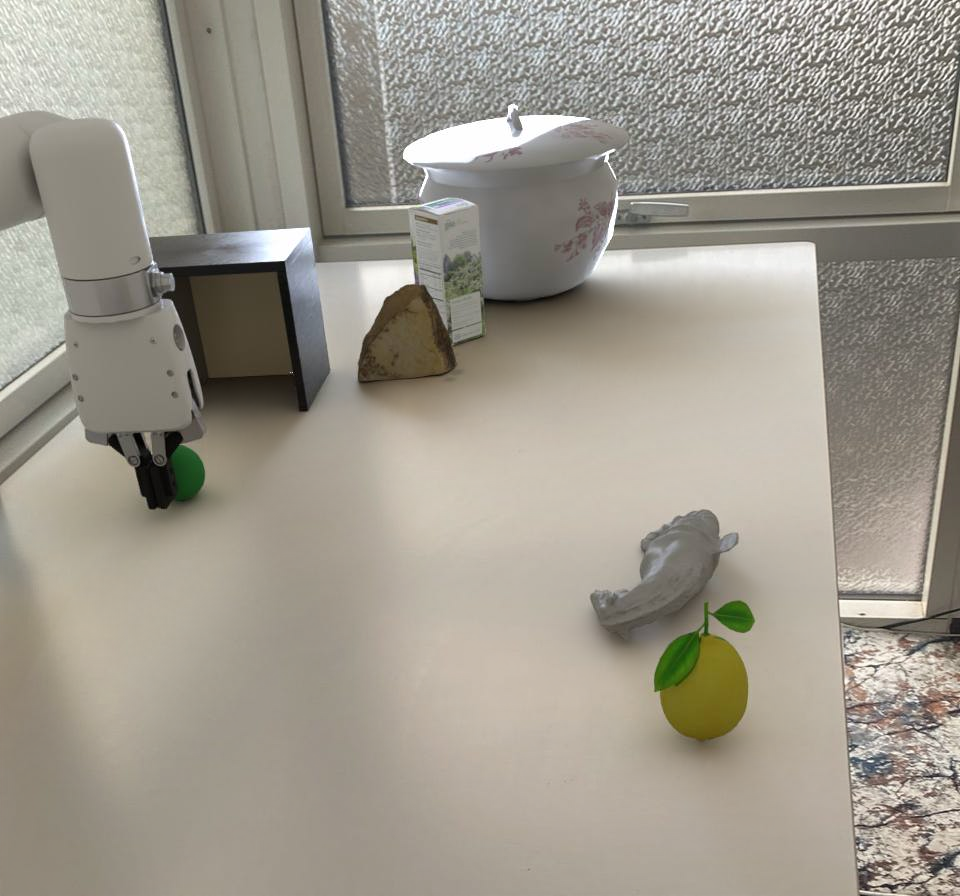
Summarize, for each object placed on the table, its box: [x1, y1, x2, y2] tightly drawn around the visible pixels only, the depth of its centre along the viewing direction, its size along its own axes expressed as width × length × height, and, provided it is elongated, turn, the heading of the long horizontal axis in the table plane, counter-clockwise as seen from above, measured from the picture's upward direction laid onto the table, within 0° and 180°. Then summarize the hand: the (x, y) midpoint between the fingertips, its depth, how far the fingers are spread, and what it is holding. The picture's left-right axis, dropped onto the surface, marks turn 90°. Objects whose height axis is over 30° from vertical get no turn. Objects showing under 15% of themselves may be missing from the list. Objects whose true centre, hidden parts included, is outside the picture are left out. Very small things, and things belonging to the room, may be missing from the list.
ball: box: [171, 444, 206, 501], centre depth 123 cm, size 5×5×5 cm
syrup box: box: [408, 198, 486, 347], centre depth 152 cm, size 6×6×14 cm
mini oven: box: [148, 227, 331, 412], centre depth 142 cm, size 18×14×15 cm
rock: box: [357, 283, 458, 382], centre depth 146 cm, size 11×9×10 cm
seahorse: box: [589, 508, 740, 641], centre depth 102 cm, size 5×12×20 cm
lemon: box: [653, 599, 756, 742], centre depth 83 cm, size 7×6×10 cm
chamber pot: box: [402, 103, 630, 302], centre depth 165 cm, size 28×28×21 cm
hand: (162, 503), depth 120 cm, fingers closed
